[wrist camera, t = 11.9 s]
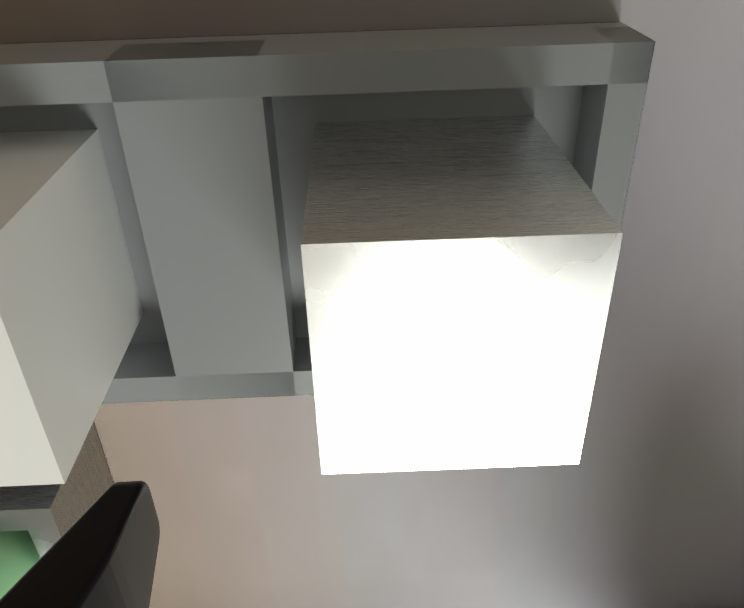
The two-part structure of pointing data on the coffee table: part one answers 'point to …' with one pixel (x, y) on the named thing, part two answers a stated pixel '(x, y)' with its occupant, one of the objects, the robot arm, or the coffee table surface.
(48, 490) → the switch box
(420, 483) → the coffee table surface
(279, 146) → the pallet
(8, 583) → the button
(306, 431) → the coffee table surface
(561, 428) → the block
